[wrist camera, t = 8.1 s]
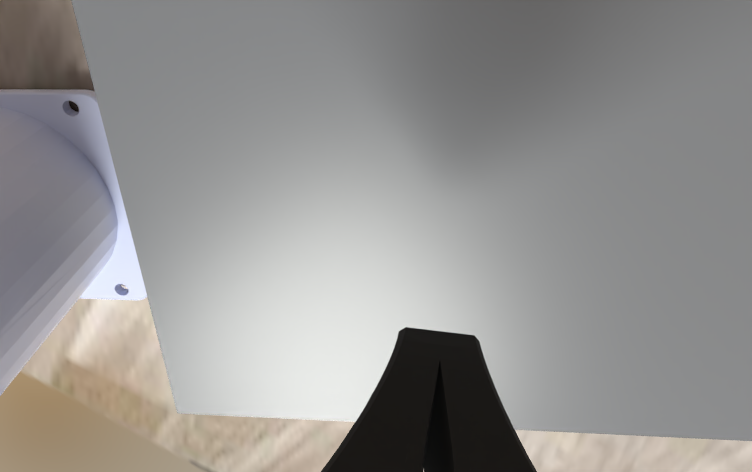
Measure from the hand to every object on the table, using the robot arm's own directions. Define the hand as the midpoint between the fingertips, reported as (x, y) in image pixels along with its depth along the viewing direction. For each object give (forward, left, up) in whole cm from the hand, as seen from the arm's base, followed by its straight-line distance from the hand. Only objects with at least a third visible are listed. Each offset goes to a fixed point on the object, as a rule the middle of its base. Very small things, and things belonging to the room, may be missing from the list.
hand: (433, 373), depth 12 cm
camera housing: (+1, 0, -10) cm, 10 cm away
